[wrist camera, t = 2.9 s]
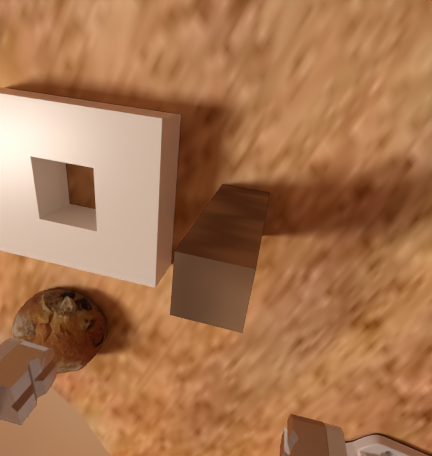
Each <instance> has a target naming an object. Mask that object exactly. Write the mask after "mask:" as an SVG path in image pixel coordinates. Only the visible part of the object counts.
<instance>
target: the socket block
mask: <svg viewBox="0 0 432 456" xmlns="http://www.w3.org/2000/svg"><path fill="white" fill-rule="evenodd" d="M180 122H181V114H174V113H168V112H161V111H154V110H148V109H141V108H135V107H128V106H122V105H115V104H108V103H102V102H95V101H89V100H82V99H76V98H69V97H62V96H56V95H49V94H43V93H36V92H29V91H23V90H16V89H10V88H0V250H1V251H5V252H9V253H13V254H17V255H21V256H26V257H30V258H34V259H38V260H42V261H46V262H50V263H55V264H59V265H63V266H67V267H71V268H75V269H80V270H84V271H88V272H92V273H96V274H100V275H104V276H109V277H113V278H117V279H121V280H125V281H129V282H133V283H138V284H142V285H146V286H150V287H154V288H155V287H156V286H157V284H158V283H159V281H160V280H161V279H162V277H163V276H164V274H165V273H166V271H167V270H168V268H169V267H170V265H171V259H172V244H173V228H174V213H175V198H176V183H177V168H178V153H179V137H180ZM66 163H69V164H75V165H80V166H85V167H91V168H93V169H94V187H95V204H96V209H93V208H88V207H84V206H79V205H74V204H70V202H69V192H68V181H67V171H66Z"/></svg>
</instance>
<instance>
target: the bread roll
mask: <svg viewBox="0 0 432 456" xmlns="http://www.w3.org/2000/svg"><path fill="white" fill-rule="evenodd" d="M12 331H13V337H14V338H17V339H21V340H25V341H27V342H31V343H34V344H38V345H41V346H45V347H48V348H52V349H54V353H55V356H54V358H53V359H52V360H53V361H54V362H55V363H56V365H57V374H59V373H65V372H71V371H77V370H80V369H82V368H83V367H84V366H85V365H87V363H88V362H89V361H91V360H92V358H93V357H94V356H95V355H96V353H97V352H98V350H99V349H100V348H101V346H102V344H103V342H104V341H105V338H106V336H107V324H106V320H105V318H104V316H103V314H102V312H101V311H100V310H99V309H98V308H97V307H96V306H95V305H94V304H93V303H92V301H91V300H89V299H87V298H86V297H85V296H84V295H82V294H80V293H76V292H74V291H68V290H63V289H55V290H49V291H46V290H44V291H41V292H39V293H37V294H35V295H34V296H33V297H32V298H30V299H29V300H28V301H27V302H26V303H25V304H24V305H23V306H22V307H21V309H20V310H19V311H18V313H17V315H16V317H15V319H14V322H13V327H12Z"/></svg>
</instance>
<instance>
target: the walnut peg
mask: <svg viewBox="0 0 432 456" xmlns="http://www.w3.org/2000/svg"><path fill="white" fill-rule="evenodd" d="M269 194H270V193H267V192H262V191H256V190H251V189H246V188H240V187H235V186H229V185H224V184H222V185H221V187H220V188H219V190H218V191H217V192H216V194H215V195H214V197H213V198H212V199H211V201H210V202H209V204H208V205H207V207H206V208H205V209H204V211H203V212H202V214H201V215H200V216H199V218H198V219H197V221H196V222H195V223H194V225H193V226H192V228H191V229H190V230H189V232H188V233H187V235H186V236H185V237H184V239H183V240H182V242H181V243H180V244H179V246H178V247H177V249H176V250H175V252H174V266H173V281H172V295H171V309H170V315H173V316H177V317H181V318H185V319H189V320H193V321H197V322H201V323H205V324H209V325H213V326H217V327H220V328H224V329H228V330H232V331H236V332H240V333H243V328H244V323H245V318H246V314H247V309H248V304H249V299H250V295H251V290H252V285H253V281H254V276H255V271H256V266H257V260H258V255H259V249H260V244H261V238H262V233H263V227H264V222H265V216H266V210H267V205H268V199H269Z"/></svg>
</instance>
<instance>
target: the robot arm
mask: <svg viewBox="0 0 432 456" xmlns="http://www.w3.org/2000/svg"><path fill="white" fill-rule="evenodd" d="M54 356H55V353H54V349H52V348H48V347H45V346H41V345H38V344H34V343H31V342H27V341H25V340H21V339H17V338H14V337H11V338H9V339H7V340H5V341H4V342H3V343H2V344H1V345H0V419H1V420H4V421H8V422H11V423H15V424H19V425H21V424H22V423H23V422H24V421H25V419H26V418H27V417H28V416H29V414H30V413H31V412H32V410H33V409H34V408H35V407H36V404H37V398H38V397H40V396H42V395H44V394H46V392H47V391H48V390H49V388H50V387H51V386H52V384H53V382H54V380H55V378H56V375H57V365H56V363H55V362H54V361H53V360H52V359H53V358H54ZM280 456H429V455H426V454H424V453H422V452H419V451H417V450H414V449H412V448H410V447H407V446H405V445H403V444H400V443H398V442H396V441H393V440H391V439H388V438H386V437H384V436H380V435H370V436H366V437H363V438H361V439H358V440H356V441H353V442H349V443H345V439H344V434H343V431H342V429H341V428H340V427H338V426H334V425H330V424H326V423H323V422H321V421H317V420H313V419H309V418H305V417H301V416H297V415H293V414H290V415H289V418H288V420H287V428H286V429H284V431H283V435H282V439H281V445H280Z"/></svg>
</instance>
